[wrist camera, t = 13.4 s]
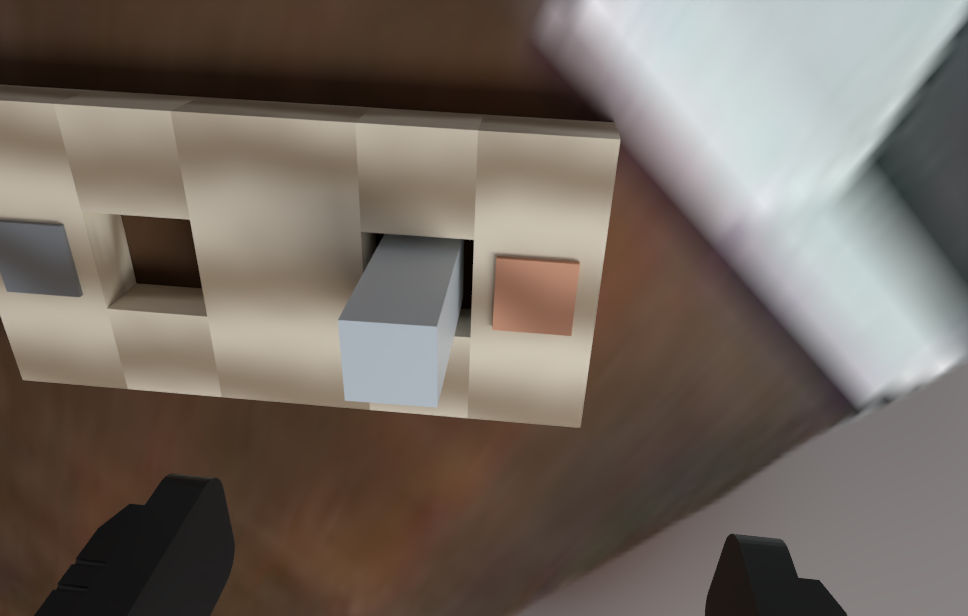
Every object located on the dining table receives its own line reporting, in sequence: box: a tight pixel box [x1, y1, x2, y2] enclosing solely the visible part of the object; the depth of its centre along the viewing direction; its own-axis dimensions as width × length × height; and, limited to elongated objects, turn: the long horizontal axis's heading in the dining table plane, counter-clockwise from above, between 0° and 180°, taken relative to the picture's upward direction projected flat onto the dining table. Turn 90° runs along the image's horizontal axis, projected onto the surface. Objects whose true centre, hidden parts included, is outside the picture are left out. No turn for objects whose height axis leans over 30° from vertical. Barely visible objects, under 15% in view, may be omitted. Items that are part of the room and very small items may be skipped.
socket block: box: [0, 85, 620, 428], centre depth 36 cm, size 16×32×3 cm, turn 88°
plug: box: [338, 234, 464, 408], centre depth 33 cm, size 4×4×10 cm
